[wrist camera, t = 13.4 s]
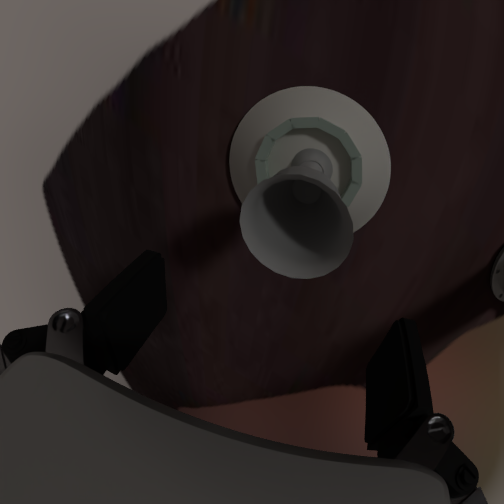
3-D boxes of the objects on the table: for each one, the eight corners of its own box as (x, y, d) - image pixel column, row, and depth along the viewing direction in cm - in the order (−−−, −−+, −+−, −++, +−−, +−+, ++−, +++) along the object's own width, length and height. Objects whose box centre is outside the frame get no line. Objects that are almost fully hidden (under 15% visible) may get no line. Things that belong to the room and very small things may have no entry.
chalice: (353, 170, 31) (377, 233, 16) (315, 207, 35) (301, 296, 19) (306, 128, 30) (286, 148, 15) (270, 168, 34) (218, 228, 18)
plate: (414, 197, 31) (419, 202, 29) (287, 263, 40) (285, 271, 38) (330, 57, 26) (330, 53, 24) (202, 146, 35) (194, 149, 33)
